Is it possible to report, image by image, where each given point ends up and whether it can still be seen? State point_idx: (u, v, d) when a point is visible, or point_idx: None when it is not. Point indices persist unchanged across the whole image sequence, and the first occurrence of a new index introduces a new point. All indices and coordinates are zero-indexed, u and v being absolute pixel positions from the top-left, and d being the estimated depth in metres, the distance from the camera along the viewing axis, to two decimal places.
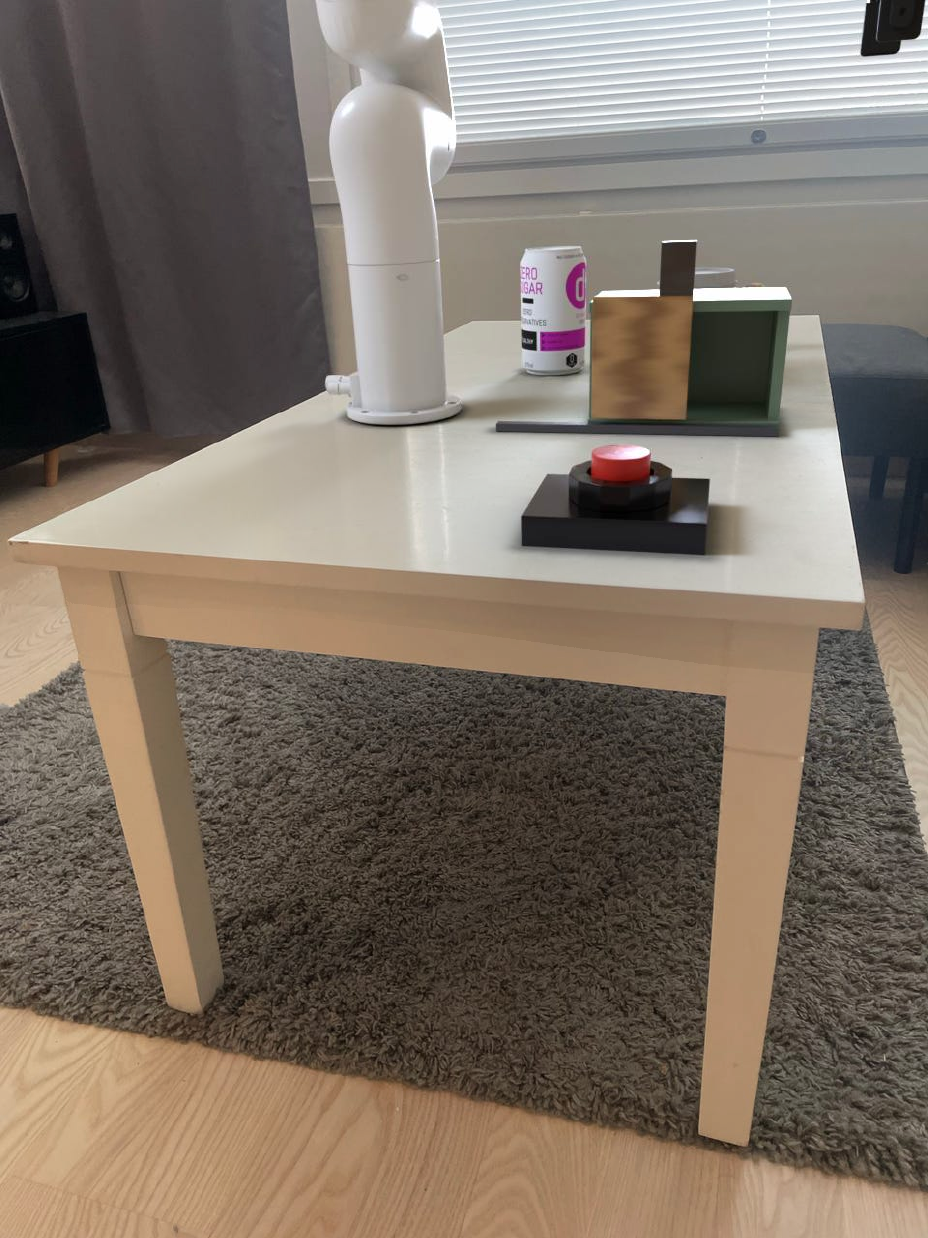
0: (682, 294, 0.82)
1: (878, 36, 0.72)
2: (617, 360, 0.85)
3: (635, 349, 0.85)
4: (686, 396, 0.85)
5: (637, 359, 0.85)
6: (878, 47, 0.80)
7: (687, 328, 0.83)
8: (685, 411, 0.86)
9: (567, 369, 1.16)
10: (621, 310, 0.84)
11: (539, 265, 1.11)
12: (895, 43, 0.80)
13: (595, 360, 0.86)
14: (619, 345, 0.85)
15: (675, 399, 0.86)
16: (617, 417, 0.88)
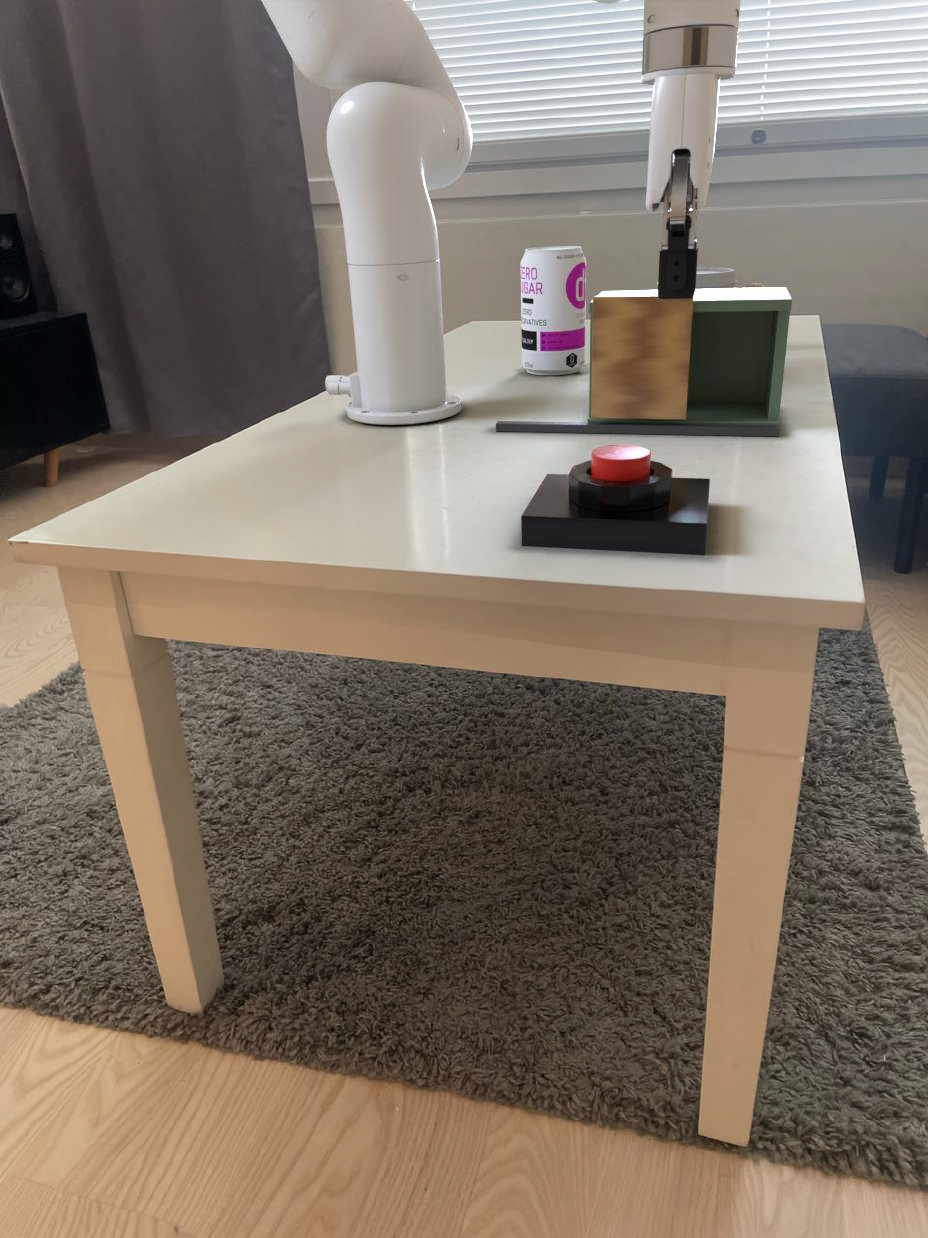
0: None
1: (659, 295, 0.81)
2: (617, 360, 0.85)
3: (635, 349, 0.85)
4: (686, 396, 0.85)
5: (637, 359, 0.85)
6: None
7: (687, 328, 0.83)
8: (685, 411, 0.86)
9: (567, 369, 1.16)
10: (621, 310, 0.84)
11: (539, 265, 1.11)
12: None
13: (595, 360, 0.86)
14: (619, 345, 0.85)
15: (675, 399, 0.86)
16: (617, 417, 0.88)
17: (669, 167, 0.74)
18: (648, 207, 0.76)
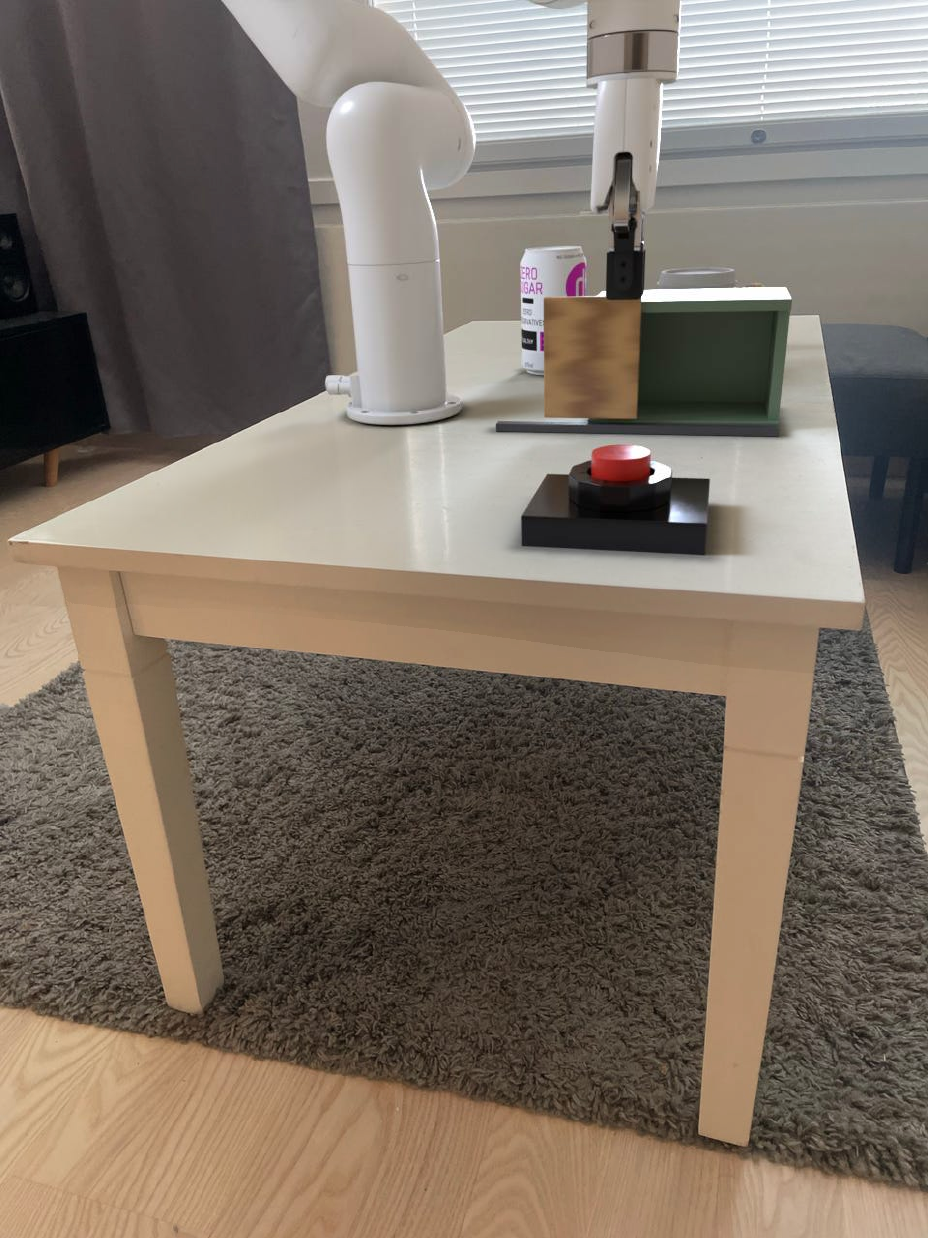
0: None
1: (607, 296, 0.82)
2: (568, 360, 0.87)
3: (585, 350, 0.86)
4: (636, 396, 0.86)
5: (588, 359, 0.86)
6: None
7: (636, 328, 0.84)
8: (636, 410, 0.87)
9: None
10: (571, 310, 0.85)
11: (539, 265, 1.11)
12: None
13: (547, 360, 0.87)
14: (570, 345, 0.86)
15: (626, 398, 0.87)
16: (569, 416, 0.89)
17: (612, 170, 0.75)
18: (593, 209, 0.77)
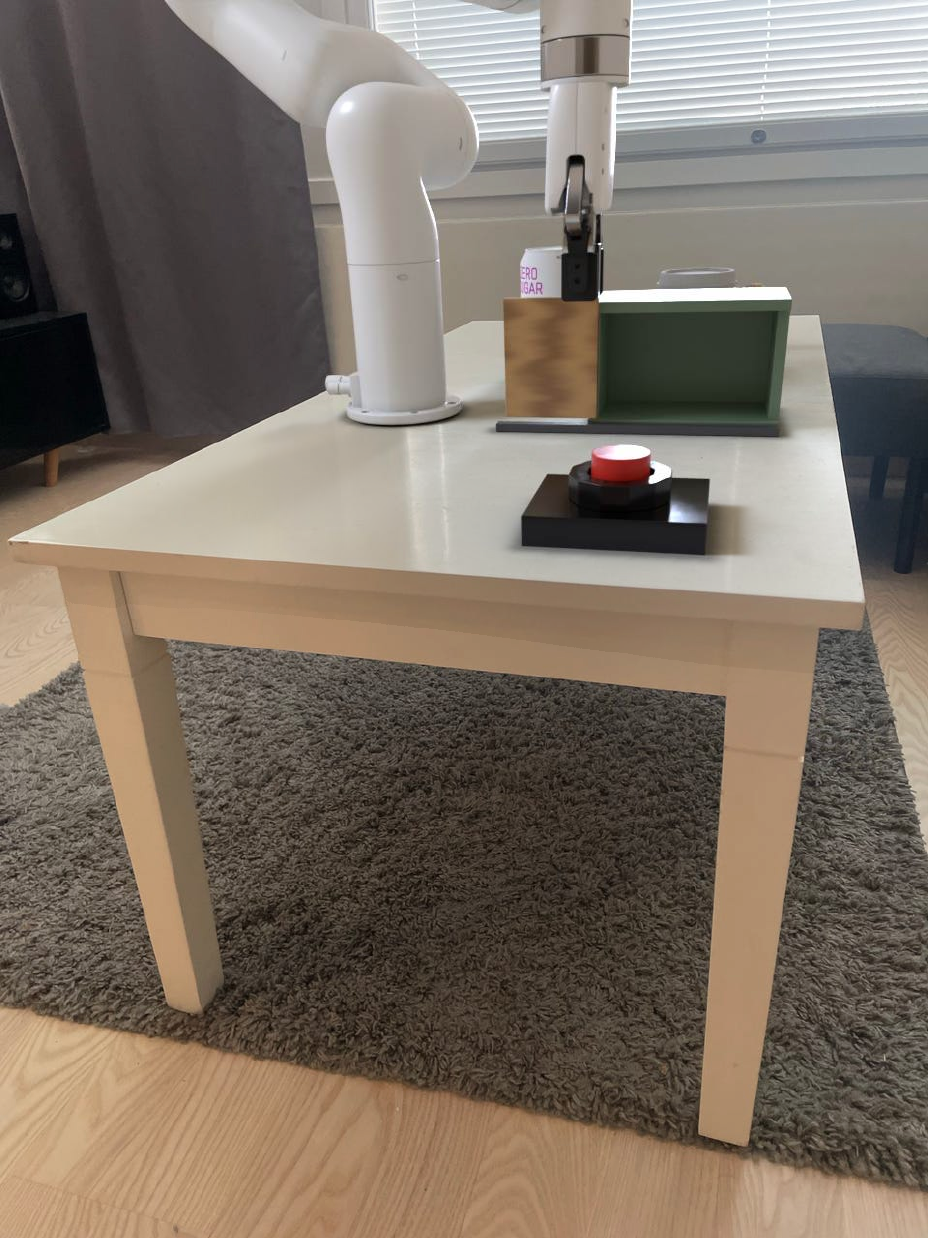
0: None
1: (562, 297, 0.82)
2: (528, 360, 0.88)
3: (545, 350, 0.87)
4: (595, 395, 0.87)
5: (547, 359, 0.87)
6: None
7: (594, 329, 0.85)
8: (595, 410, 0.88)
9: None
10: (530, 311, 0.86)
11: (539, 265, 1.11)
12: None
13: (508, 360, 0.88)
14: (530, 345, 0.87)
15: (585, 398, 0.88)
16: (530, 415, 0.90)
17: (565, 173, 0.76)
18: (547, 211, 0.78)
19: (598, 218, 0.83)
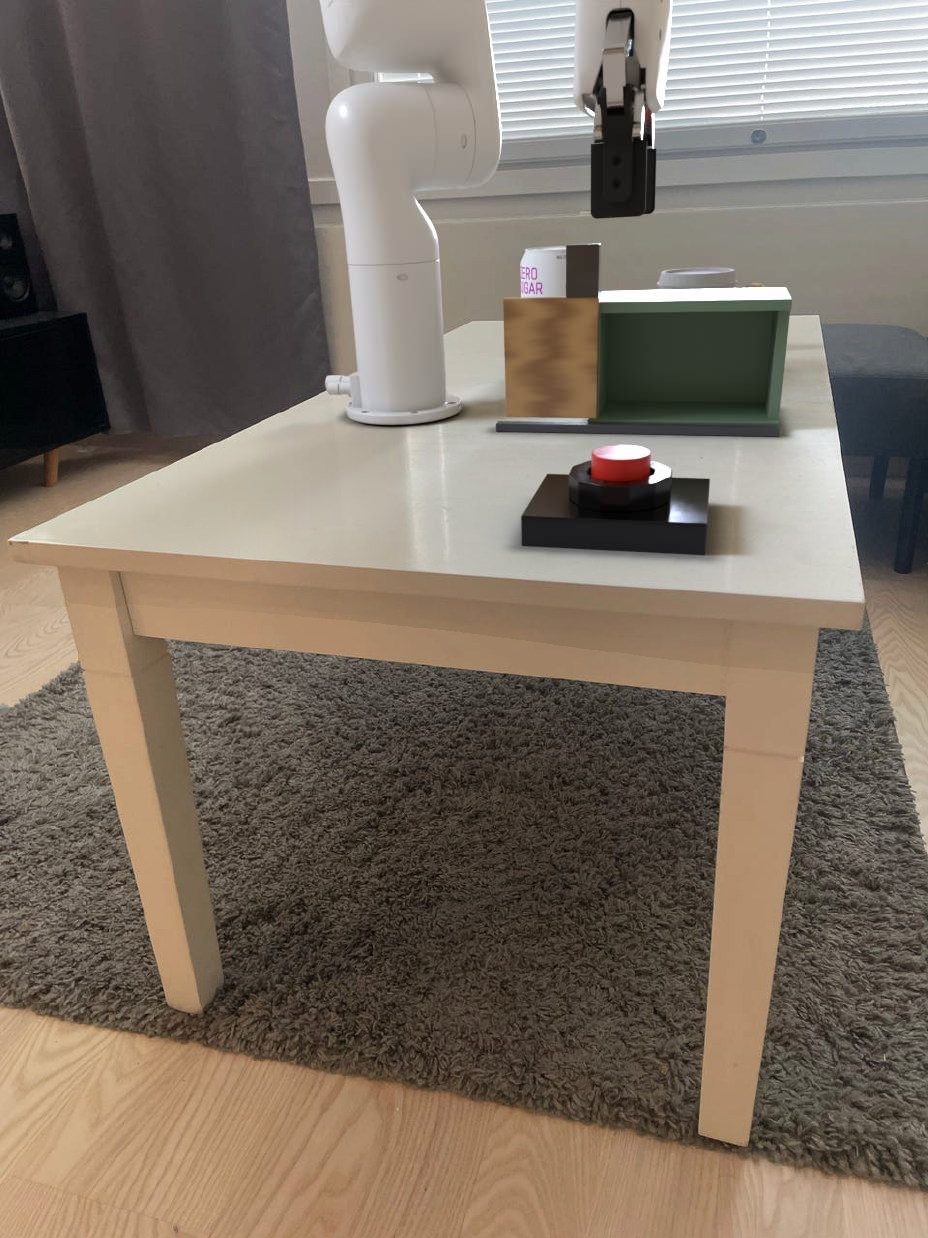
0: (587, 296, 0.84)
1: (593, 212, 0.54)
2: (528, 360, 0.88)
3: (545, 350, 0.87)
4: (595, 395, 0.87)
5: (547, 359, 0.87)
6: None
7: (594, 329, 0.85)
8: (595, 410, 0.88)
9: None
10: (530, 311, 0.86)
11: (539, 265, 1.11)
12: (647, 202, 0.62)
13: (508, 360, 0.88)
14: (530, 345, 0.87)
15: (585, 398, 0.88)
16: (530, 415, 0.90)
17: (604, 37, 0.51)
18: (577, 101, 0.53)
19: (648, 115, 0.59)
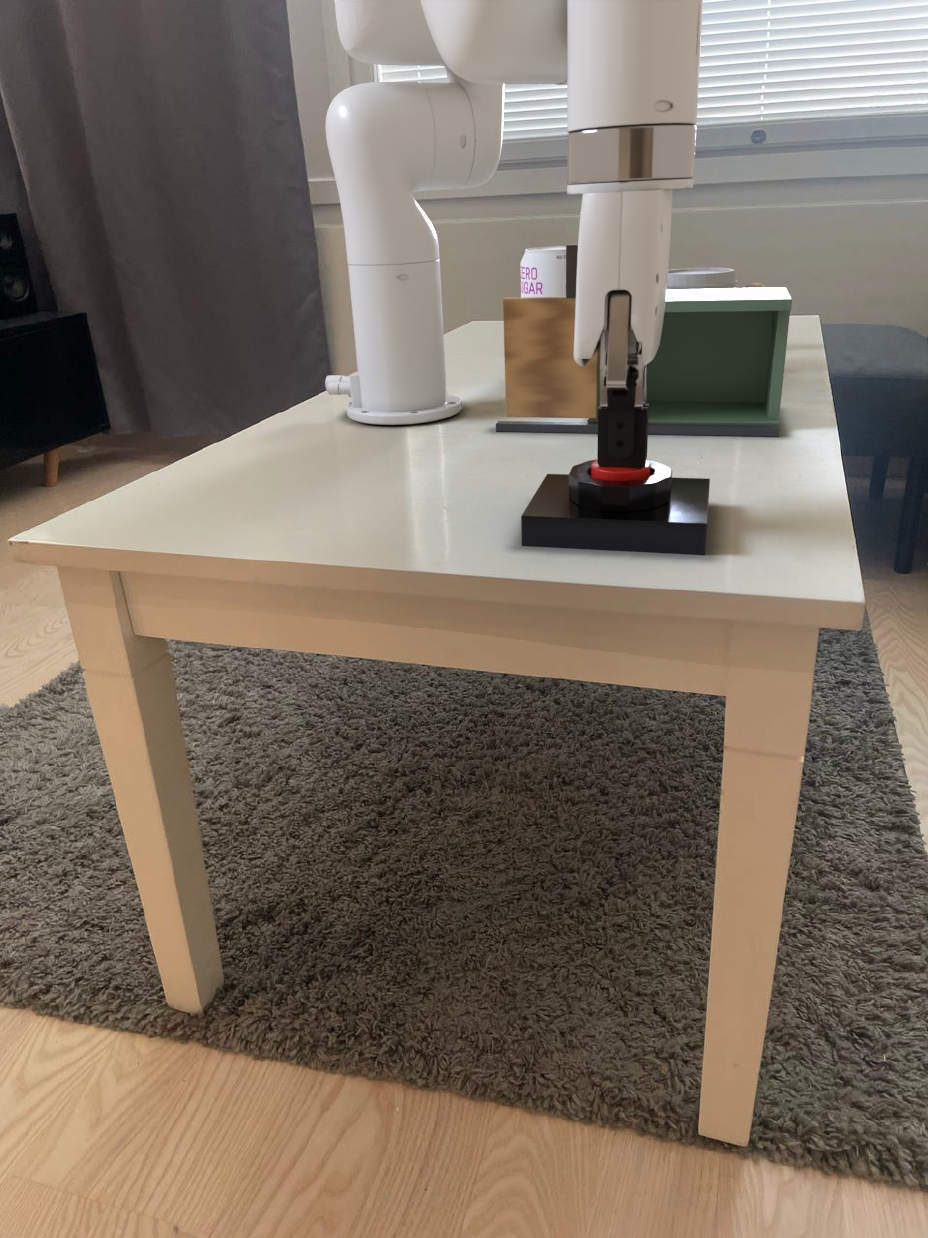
0: None
1: (599, 462, 0.62)
2: (528, 360, 0.88)
3: (545, 350, 0.87)
4: (595, 395, 0.87)
5: (547, 359, 0.87)
6: None
7: None
8: (595, 410, 0.88)
9: None
10: (530, 311, 0.86)
11: (539, 265, 1.11)
12: None
13: (508, 360, 0.88)
14: (530, 345, 0.87)
15: (585, 398, 0.88)
16: (530, 415, 0.90)
17: (603, 314, 0.54)
18: (577, 362, 0.56)
19: None
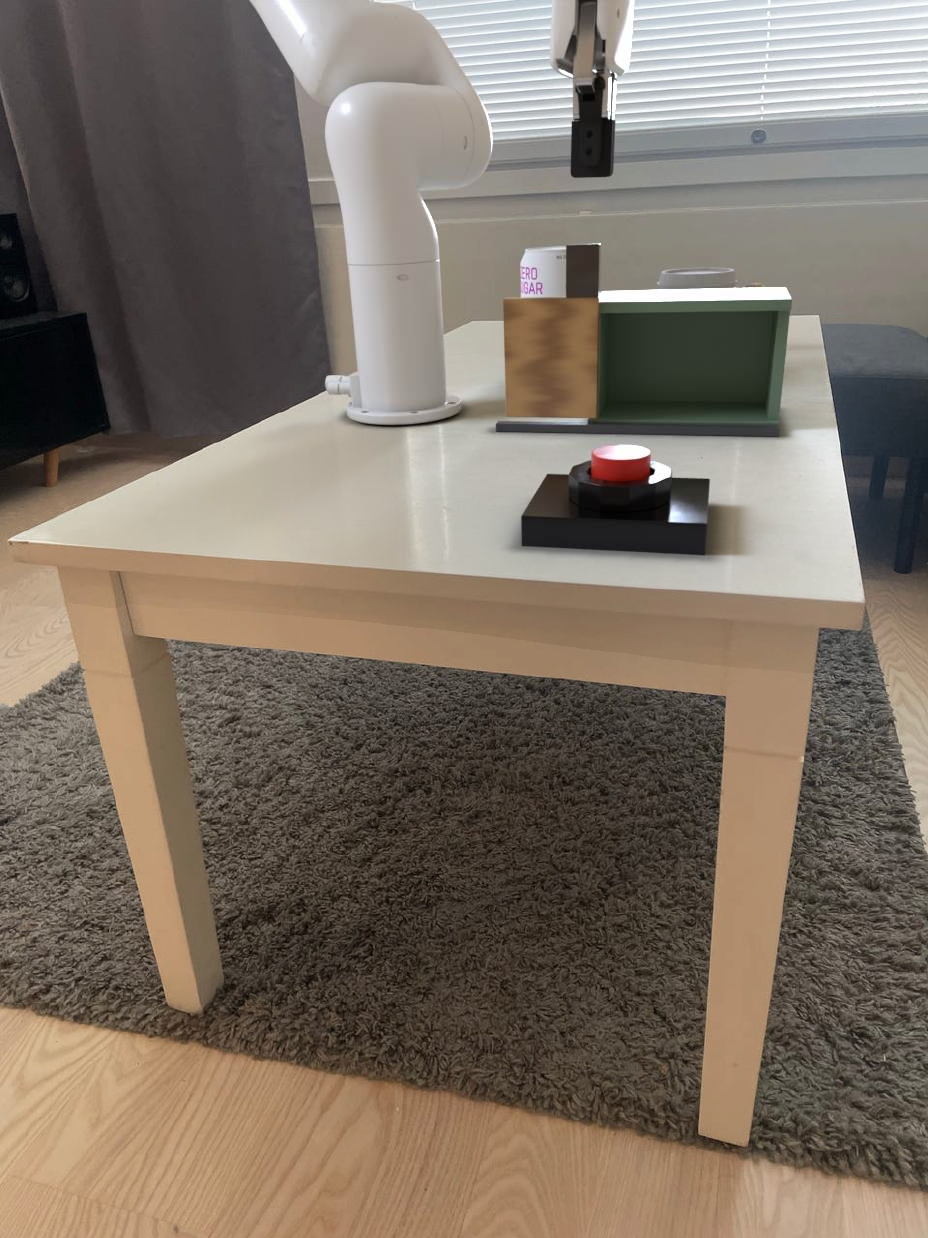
0: (587, 296, 0.84)
1: (572, 173, 0.73)
2: (528, 360, 0.88)
3: (545, 350, 0.87)
4: (595, 395, 0.87)
5: (547, 359, 0.87)
6: None
7: (594, 329, 0.85)
8: (595, 410, 0.88)
9: None
10: (530, 311, 0.86)
11: (539, 265, 1.11)
12: None
13: (508, 360, 0.88)
14: (530, 345, 0.87)
15: (585, 398, 0.88)
16: (530, 415, 0.90)
17: (573, 14, 0.64)
18: (552, 64, 0.67)
19: (611, 78, 0.71)
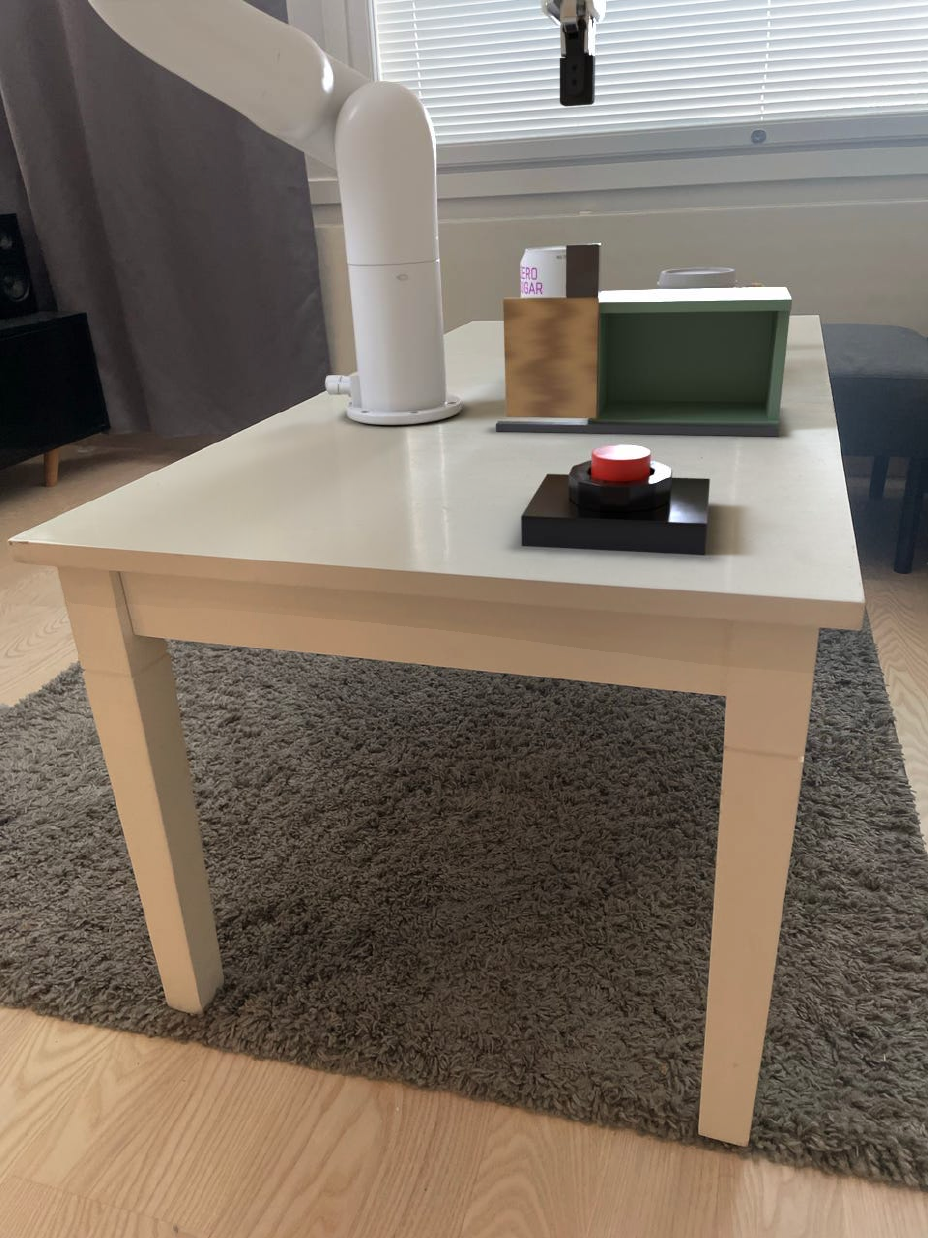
0: (587, 296, 0.84)
1: (561, 101, 0.89)
2: (528, 360, 0.88)
3: (545, 350, 0.87)
4: (595, 395, 0.87)
5: (547, 359, 0.87)
6: None
7: (594, 329, 0.85)
8: (595, 410, 0.88)
9: None
10: (530, 311, 0.86)
11: (539, 265, 1.11)
12: None
13: (508, 360, 0.88)
14: (530, 345, 0.87)
15: (585, 398, 0.88)
16: (530, 415, 0.90)
17: None
18: (543, 8, 0.83)
19: (590, 22, 0.87)
